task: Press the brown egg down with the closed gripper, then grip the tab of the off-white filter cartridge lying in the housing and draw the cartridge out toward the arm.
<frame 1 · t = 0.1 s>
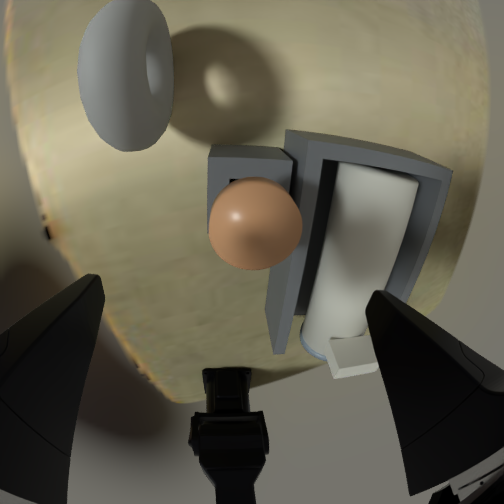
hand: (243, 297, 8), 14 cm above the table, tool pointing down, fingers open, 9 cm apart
cartridge: (360, 280, 20), point 6 cm above the table, slide at 0.0 cm
donut: (155, 77, 16), on the table
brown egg: (250, 208, 15), point 7 cm above the table, slide at 0.0 cm
housing: (337, 235, 24), on the table
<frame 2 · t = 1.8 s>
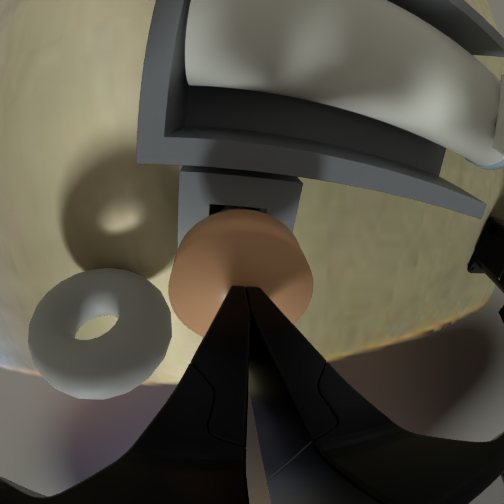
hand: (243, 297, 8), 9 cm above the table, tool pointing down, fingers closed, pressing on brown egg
cartridge: (408, 61, 7), point 6 cm above the table, slide at 0.0 cm
donut: (117, 276, 18), on the table
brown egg: (237, 250, 10), point 7 cm above the table, slide at 0.2 cm, touching gripper
housing: (338, 64, 12), on the table
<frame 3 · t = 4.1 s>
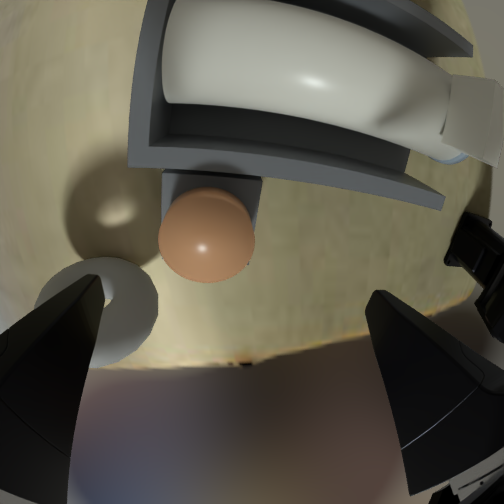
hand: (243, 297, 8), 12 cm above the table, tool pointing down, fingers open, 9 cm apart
cartridge: (355, 71, 10), point 6 cm above the table, slide at 0.0 cm
donut: (113, 265, 21), on the table
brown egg: (208, 218, 14), point 5 cm above the table, slide at 2.2 cm
housing: (304, 75, 15), on the table
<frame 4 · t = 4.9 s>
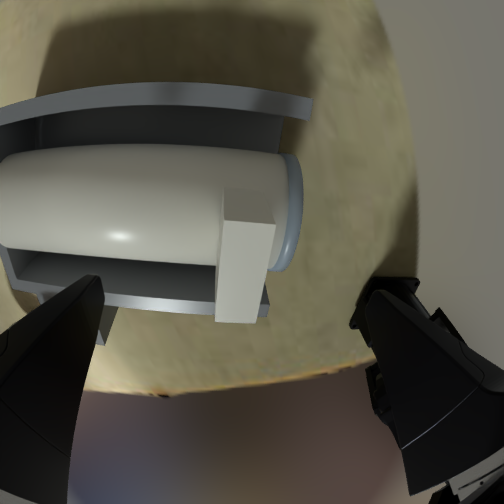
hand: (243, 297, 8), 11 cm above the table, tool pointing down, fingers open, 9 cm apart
cartridge: (117, 211, 12), point 6 cm above the table, slide at 0.0 cm
housing: (136, 177, 16), on the table
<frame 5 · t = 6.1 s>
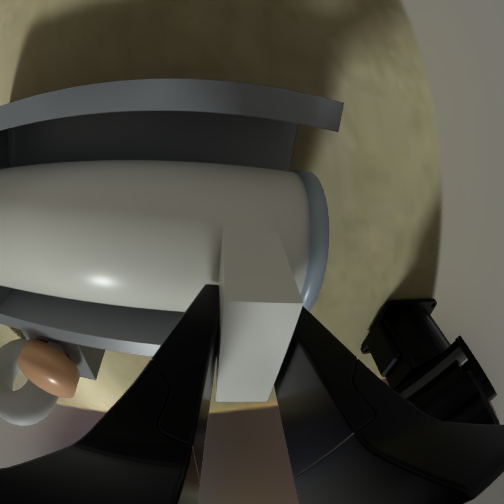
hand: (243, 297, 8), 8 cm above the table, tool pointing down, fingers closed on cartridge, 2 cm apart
cartridge: (91, 249, 9), point 6 cm above the table, slide at 0.0 cm, touching gripper
donut: (37, 342, 20), on the table
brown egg: (57, 348, 14), point 5 cm above the table, slide at 2.2 cm
housing: (120, 195, 14), on the table
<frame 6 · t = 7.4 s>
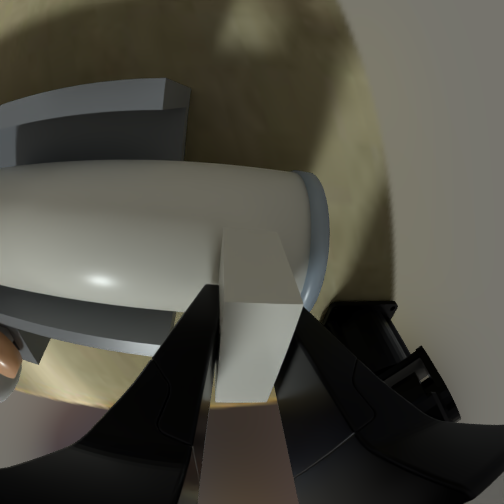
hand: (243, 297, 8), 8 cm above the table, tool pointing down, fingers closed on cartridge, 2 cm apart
cartridge: (91, 248, 9), point 6 cm above the table, slide at 5.4 cm, touching gripper
donut: (5, 331, 19), on the table
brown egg: (6, 332, 13), point 5 cm above the table, slide at 2.2 cm
housing: (48, 194, 13), on the table
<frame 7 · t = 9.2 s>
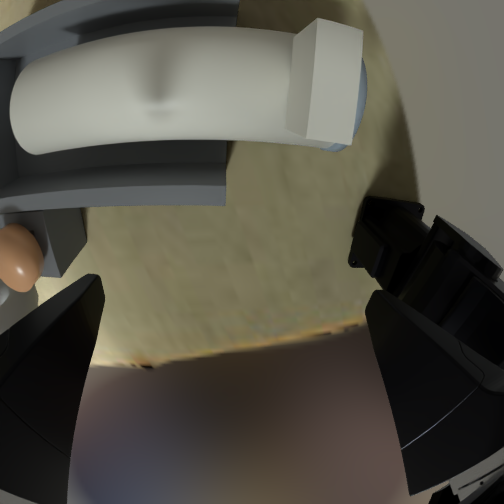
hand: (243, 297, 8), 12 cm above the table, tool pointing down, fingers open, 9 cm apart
cartridge: (169, 80, 10), point 6 cm above the table, slide at 5.4 cm
donut: (22, 277, 21), on the table
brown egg: (29, 243, 14), point 5 cm above the table, slide at 2.2 cm
housing: (100, 96, 14), on the table
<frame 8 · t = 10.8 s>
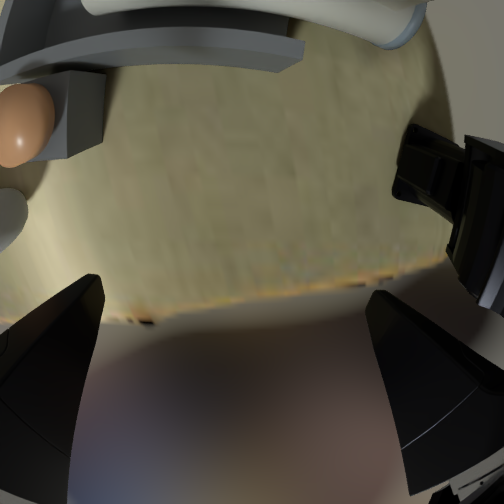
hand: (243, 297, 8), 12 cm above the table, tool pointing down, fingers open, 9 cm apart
donut: (13, 200, 16), on the table
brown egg: (38, 118, 10), point 5 cm above the table, slide at 2.2 cm
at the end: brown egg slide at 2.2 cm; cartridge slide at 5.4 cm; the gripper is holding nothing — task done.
